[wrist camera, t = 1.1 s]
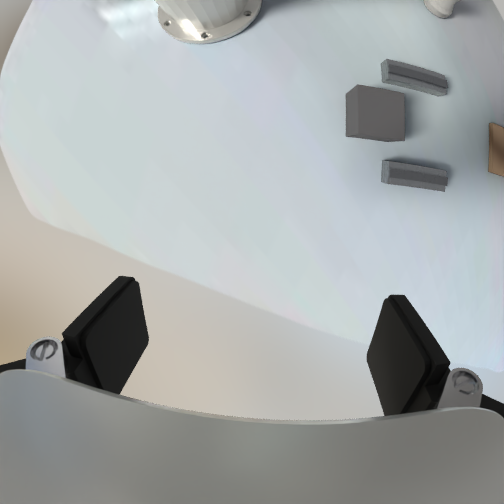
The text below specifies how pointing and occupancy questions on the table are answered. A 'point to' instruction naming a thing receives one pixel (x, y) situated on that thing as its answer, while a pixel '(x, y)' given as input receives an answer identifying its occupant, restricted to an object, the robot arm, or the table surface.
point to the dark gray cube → (375, 114)
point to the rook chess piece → (440, 7)
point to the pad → (496, 149)
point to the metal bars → (425, 83)
